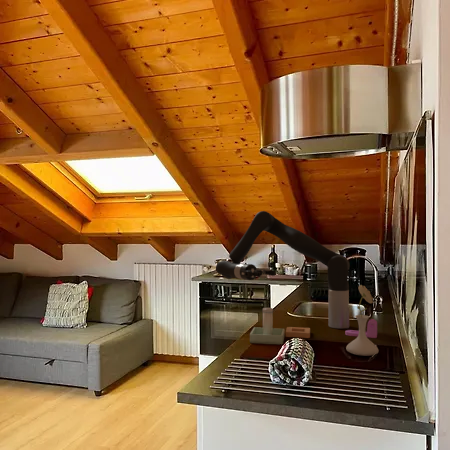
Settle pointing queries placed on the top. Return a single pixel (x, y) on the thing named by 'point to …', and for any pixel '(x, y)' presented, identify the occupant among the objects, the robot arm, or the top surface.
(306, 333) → the fuse holder
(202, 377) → the top surface
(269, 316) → the cylinder
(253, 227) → the robot arm
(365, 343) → the flower in vase
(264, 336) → the tray
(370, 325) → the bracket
